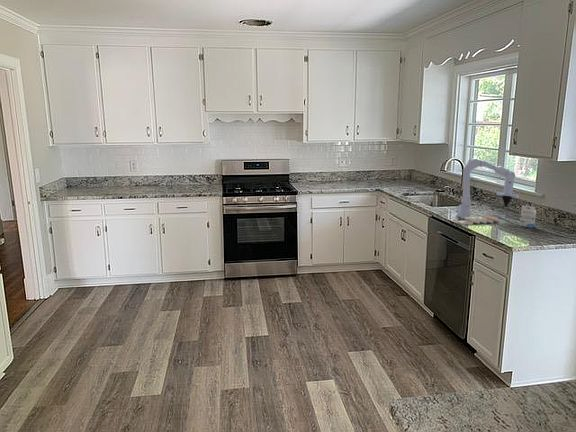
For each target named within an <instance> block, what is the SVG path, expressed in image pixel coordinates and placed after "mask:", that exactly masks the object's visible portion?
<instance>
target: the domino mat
mask: <svg viewBox="0 0 576 432" xmlns="http://www.w3.org/2000/svg"><path fill="white" fill-rule="evenodd" d="M496 219H497V220H499V223H498V222H495V221H493V223H490V222H487V223H483V222H480V221H479V222H480V223H479V224H478V223H475V222H473V224H472V225H474V226H476V225H502V224H505V225H506V224H510V222H508V221H505V220H503V219H500V218H499V219H498V218H496ZM491 221H492V220H491Z"/></svg>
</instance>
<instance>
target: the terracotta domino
mask: <svg viewBox="0 0 576 432" xmlns="http://www.w3.org/2000/svg"><path fill="white" fill-rule="evenodd" d="M483 218H486V219H489V220H492V221H495V222H498V223H499V220H497V219H498V218H493V217H490V216H488V215H485V214H484V215H483Z"/></svg>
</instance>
